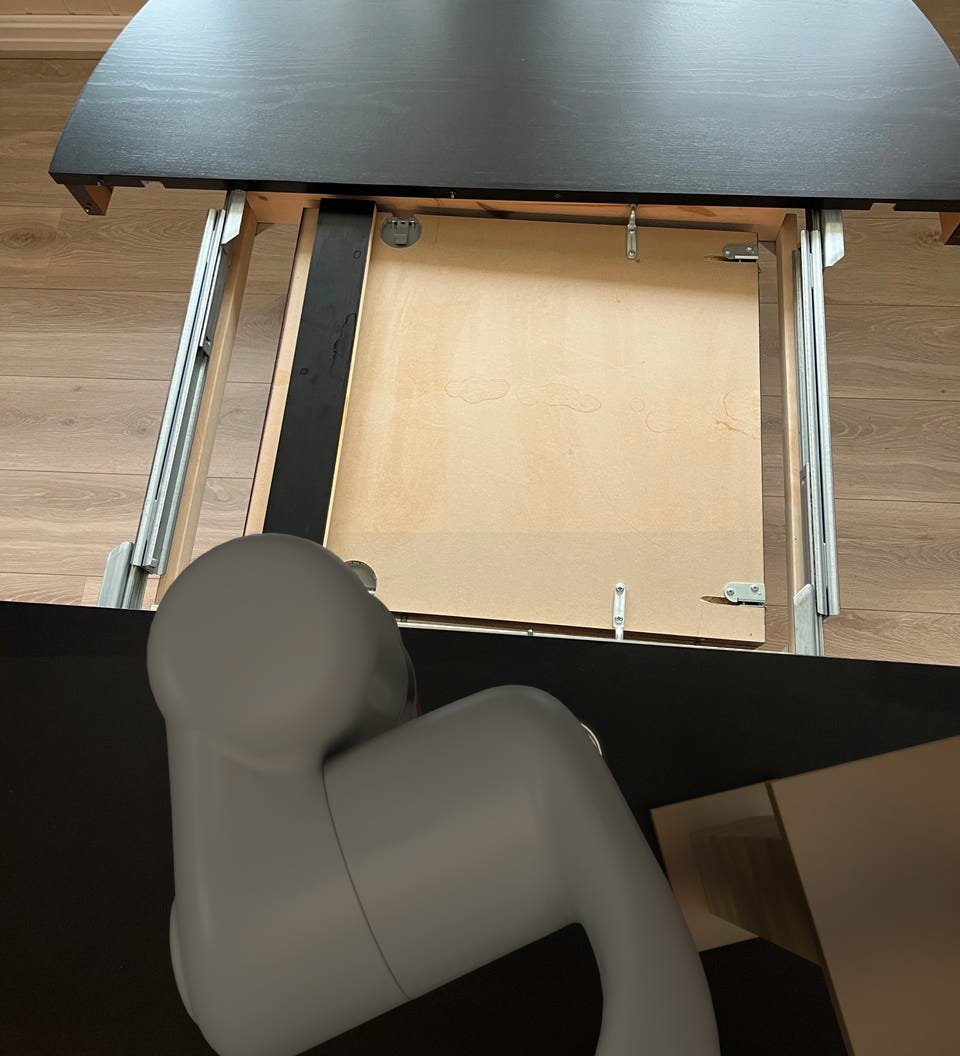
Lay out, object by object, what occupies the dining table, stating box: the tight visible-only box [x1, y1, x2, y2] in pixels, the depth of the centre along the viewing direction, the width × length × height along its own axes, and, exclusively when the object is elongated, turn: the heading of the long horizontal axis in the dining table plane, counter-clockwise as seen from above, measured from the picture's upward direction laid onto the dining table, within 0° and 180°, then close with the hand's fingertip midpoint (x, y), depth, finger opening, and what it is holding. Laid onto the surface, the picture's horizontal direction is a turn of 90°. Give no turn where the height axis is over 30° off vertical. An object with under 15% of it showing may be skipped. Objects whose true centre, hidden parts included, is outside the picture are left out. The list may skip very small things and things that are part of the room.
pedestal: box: [649, 734, 960, 1056], centre depth 52 cm, size 10×10×41 cm
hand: (380, 731), depth 61 cm, fingers closed on block, 5 cm apart
